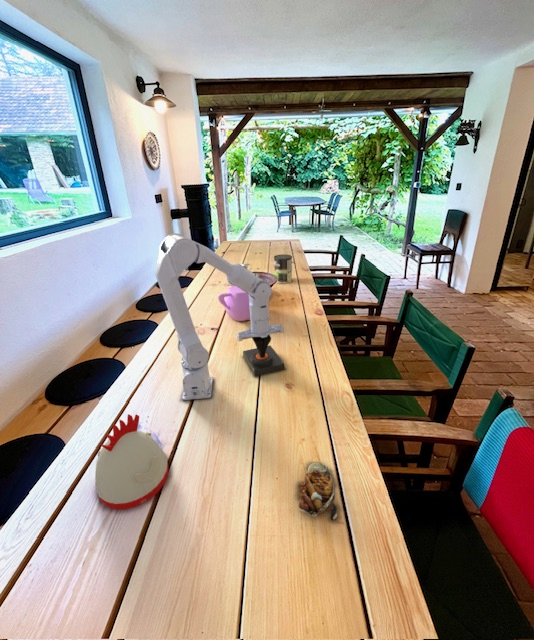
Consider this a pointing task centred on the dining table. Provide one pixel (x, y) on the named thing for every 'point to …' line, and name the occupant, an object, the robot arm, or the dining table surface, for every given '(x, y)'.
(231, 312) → the teapot
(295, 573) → the dining table surface
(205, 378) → the robot arm
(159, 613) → the dining table surface
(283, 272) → the coffee can
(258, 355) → the button
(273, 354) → the switch
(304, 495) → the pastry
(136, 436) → the kitchen timer
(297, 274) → the dining table surface
